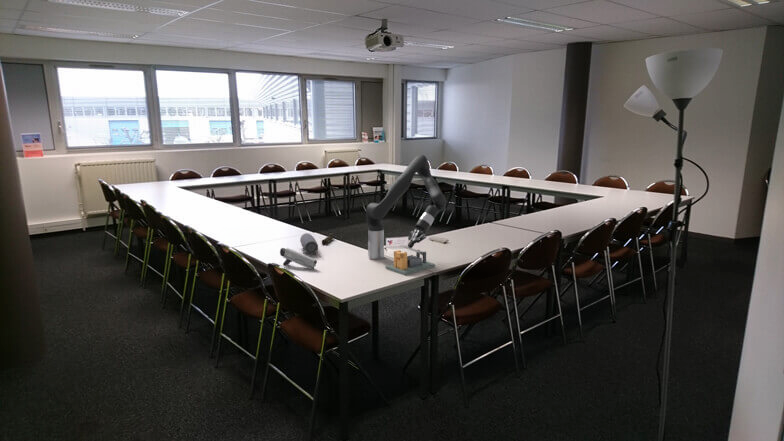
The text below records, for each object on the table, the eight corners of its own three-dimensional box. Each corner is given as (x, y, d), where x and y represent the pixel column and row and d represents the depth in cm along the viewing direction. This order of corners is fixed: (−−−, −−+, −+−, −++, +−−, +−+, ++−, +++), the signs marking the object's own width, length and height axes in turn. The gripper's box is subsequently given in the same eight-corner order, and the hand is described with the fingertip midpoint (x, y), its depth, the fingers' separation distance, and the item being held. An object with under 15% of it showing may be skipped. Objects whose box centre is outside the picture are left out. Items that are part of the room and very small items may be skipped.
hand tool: (327, 245, 310) (327, 238, 309) (321, 245, 311) (321, 238, 310) (336, 238, 328) (336, 232, 327) (331, 238, 329) (330, 232, 328)
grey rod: (420, 251, 266) (400, 244, 255) (424, 252, 264) (404, 245, 252) (420, 254, 266) (400, 247, 255) (423, 255, 264) (403, 248, 252)
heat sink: (411, 261, 266) (411, 254, 266) (422, 264, 260) (422, 258, 259) (399, 264, 261) (399, 257, 260) (410, 268, 254) (410, 261, 253)
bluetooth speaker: (299, 247, 305) (298, 233, 303) (313, 246, 307) (313, 231, 305) (304, 256, 283) (303, 241, 281) (319, 255, 286) (318, 239, 284)
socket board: (415, 260, 273) (415, 247, 272) (434, 266, 262) (435, 252, 260) (385, 268, 259) (385, 254, 257) (404, 275, 247) (404, 260, 245)
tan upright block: (399, 265, 259) (399, 250, 257) (407, 268, 254) (407, 252, 252) (393, 267, 256) (393, 251, 254) (401, 269, 251) (401, 253, 249)
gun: (280, 261, 271) (282, 245, 268) (315, 276, 261) (317, 260, 258) (277, 262, 268) (279, 246, 265) (312, 277, 259) (315, 261, 256)
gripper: (436, 228, 260) (421, 253, 254) (420, 224, 270) (404, 248, 264) (429, 220, 255) (414, 245, 250) (413, 216, 265) (397, 241, 260)
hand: (409, 247), depth 257 cm, fingers closed
